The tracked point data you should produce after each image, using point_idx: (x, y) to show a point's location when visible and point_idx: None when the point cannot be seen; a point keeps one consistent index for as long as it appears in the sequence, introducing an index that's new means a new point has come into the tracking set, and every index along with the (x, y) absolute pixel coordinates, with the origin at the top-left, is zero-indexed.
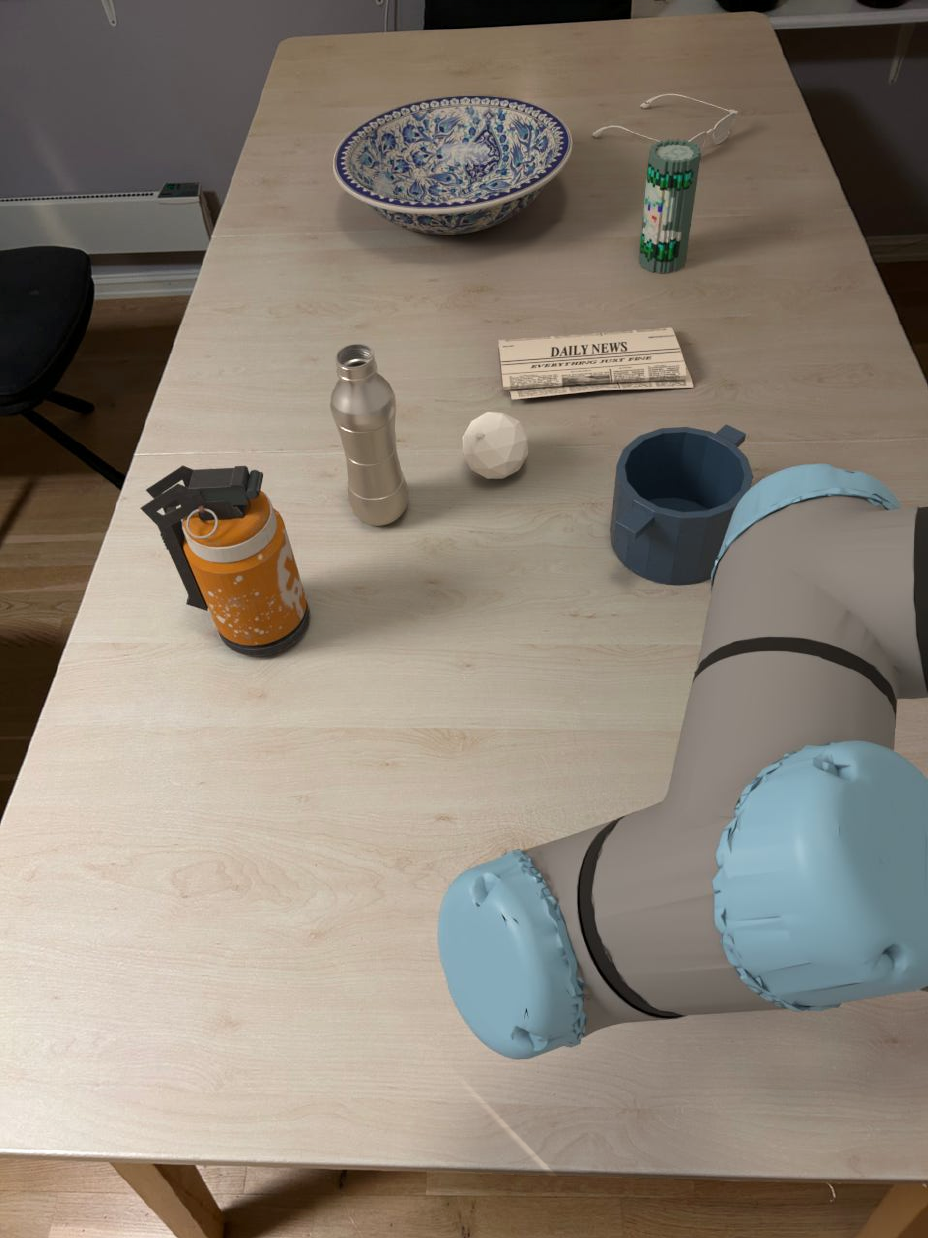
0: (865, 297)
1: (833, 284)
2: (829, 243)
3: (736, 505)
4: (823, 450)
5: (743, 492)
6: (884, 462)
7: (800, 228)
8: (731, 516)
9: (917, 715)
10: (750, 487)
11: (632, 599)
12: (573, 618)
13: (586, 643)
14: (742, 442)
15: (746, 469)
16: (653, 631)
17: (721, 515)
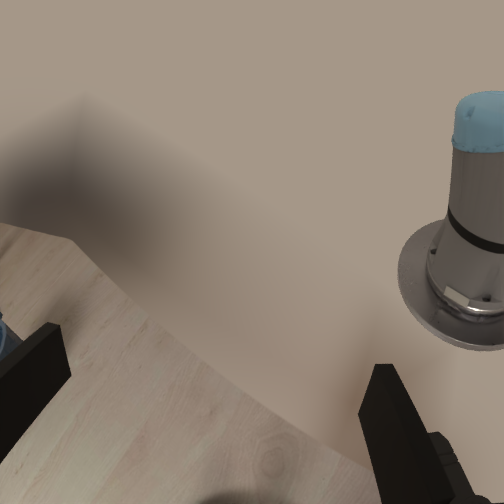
0: (39, 236)
1: (27, 243)
2: (21, 236)
3: (4, 344)
4: (52, 288)
5: (4, 335)
6: (76, 269)
7: (11, 242)
8: (9, 352)
9: (182, 344)
10: (10, 330)
11: (28, 437)
12: (17, 474)
13: (30, 483)
14: (1, 315)
15: (1, 324)
16: (46, 444)
17: (2, 356)
